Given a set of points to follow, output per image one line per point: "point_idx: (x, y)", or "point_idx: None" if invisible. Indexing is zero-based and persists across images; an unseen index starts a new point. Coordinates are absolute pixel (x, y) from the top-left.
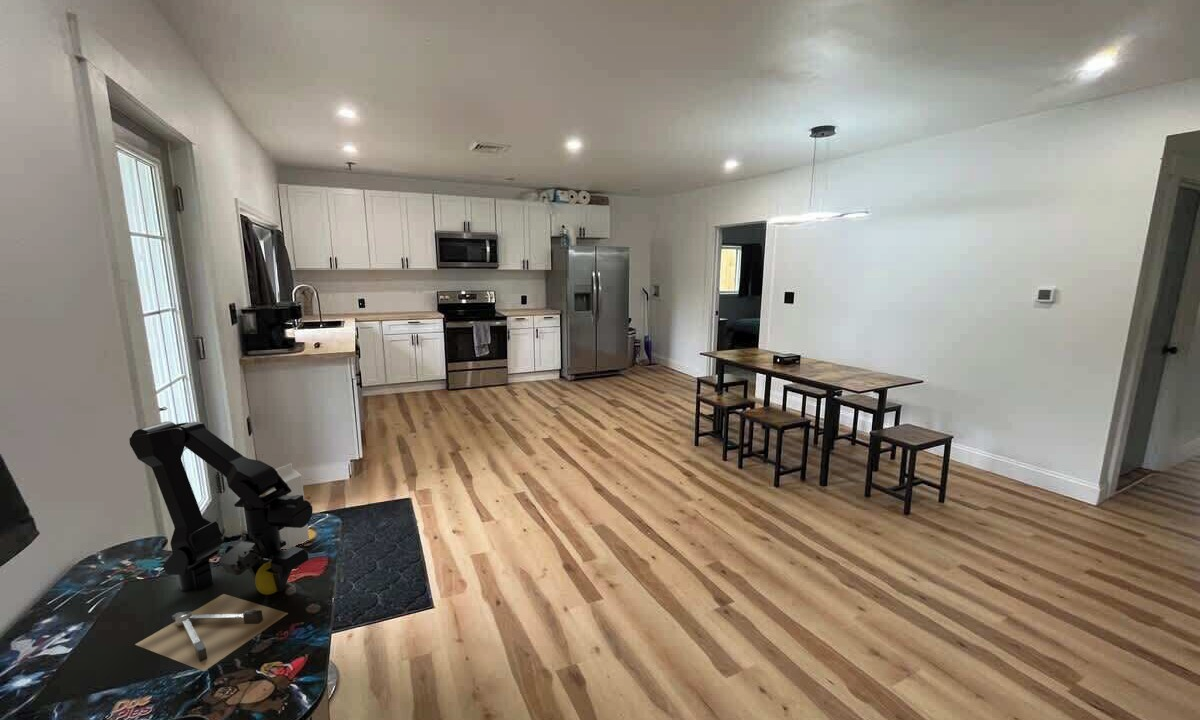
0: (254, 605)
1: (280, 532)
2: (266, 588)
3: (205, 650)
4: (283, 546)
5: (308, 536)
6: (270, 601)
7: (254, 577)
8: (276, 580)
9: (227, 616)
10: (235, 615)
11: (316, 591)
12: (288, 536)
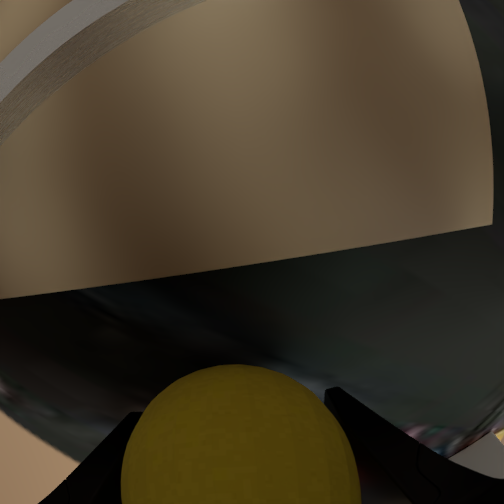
0: (131, 259)
1: None
2: (145, 415)
3: None
4: (465, 461)
5: None
6: (165, 344)
7: (392, 432)
8: (69, 487)
9: (56, 19)
10: (10, 72)
11: (77, 445)
12: None
